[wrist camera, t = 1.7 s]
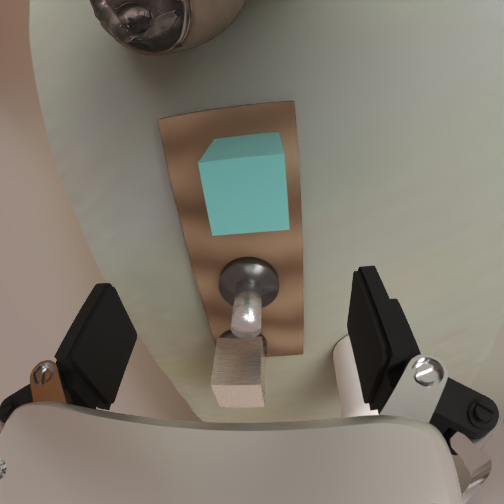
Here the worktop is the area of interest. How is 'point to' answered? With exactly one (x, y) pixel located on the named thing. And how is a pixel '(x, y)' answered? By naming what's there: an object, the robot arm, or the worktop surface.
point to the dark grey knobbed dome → (248, 292)
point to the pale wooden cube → (239, 371)
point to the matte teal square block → (245, 184)
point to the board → (246, 244)
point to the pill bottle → (349, 381)
